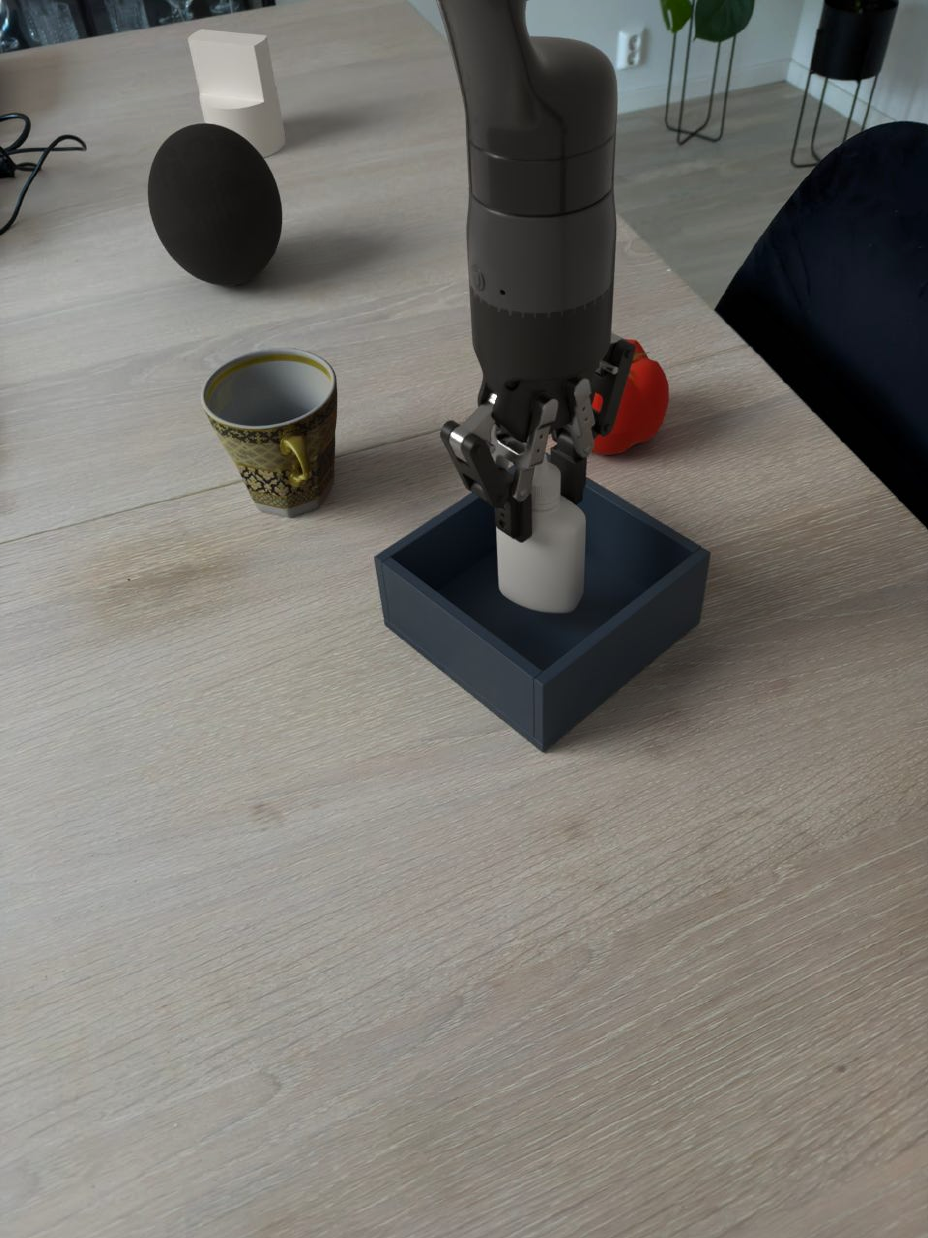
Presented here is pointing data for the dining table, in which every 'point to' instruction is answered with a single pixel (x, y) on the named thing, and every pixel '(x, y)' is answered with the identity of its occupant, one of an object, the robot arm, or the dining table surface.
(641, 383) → the tomato
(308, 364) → the ceramic cup
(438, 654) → the bin
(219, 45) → the base with upright slab
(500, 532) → the eye dropper bottle
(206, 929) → the dining table surface
